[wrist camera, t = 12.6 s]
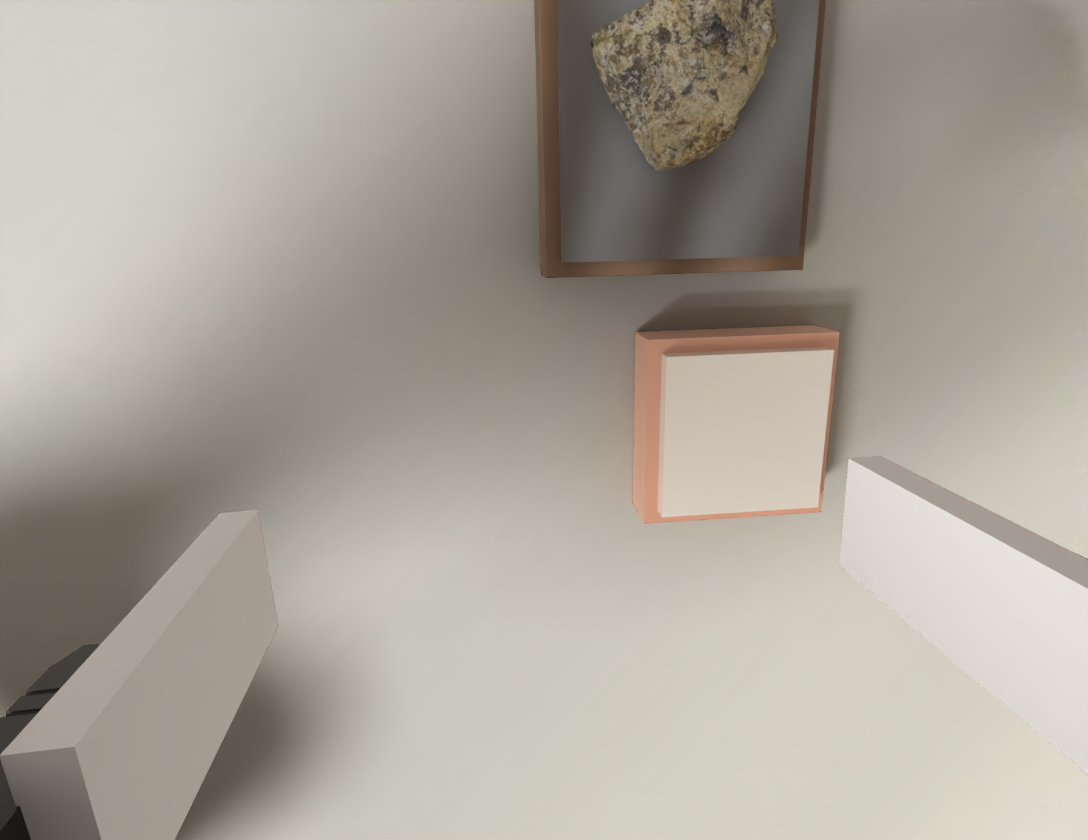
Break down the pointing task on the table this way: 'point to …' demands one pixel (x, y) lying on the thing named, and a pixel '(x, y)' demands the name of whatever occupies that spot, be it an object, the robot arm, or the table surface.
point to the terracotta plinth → (732, 421)
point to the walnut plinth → (678, 193)
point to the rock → (684, 72)
